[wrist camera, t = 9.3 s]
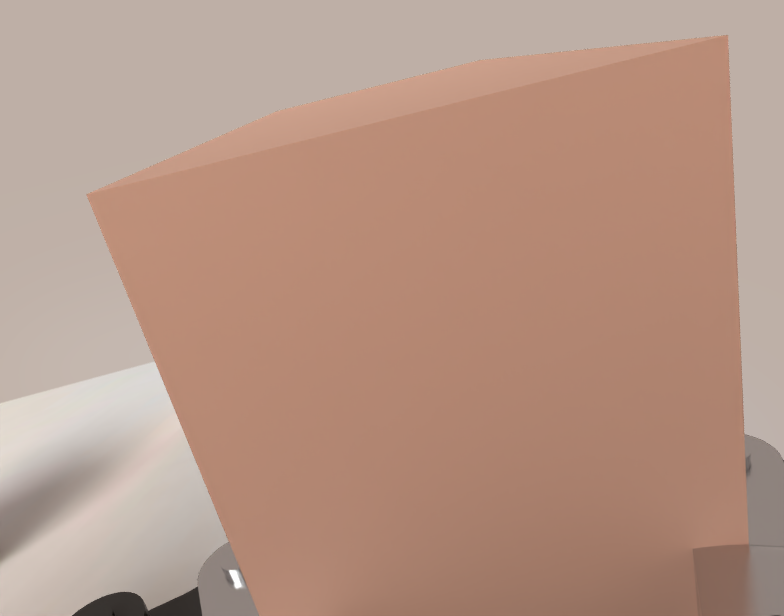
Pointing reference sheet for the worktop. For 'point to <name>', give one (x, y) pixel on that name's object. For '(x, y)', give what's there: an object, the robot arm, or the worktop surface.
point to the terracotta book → (459, 335)
